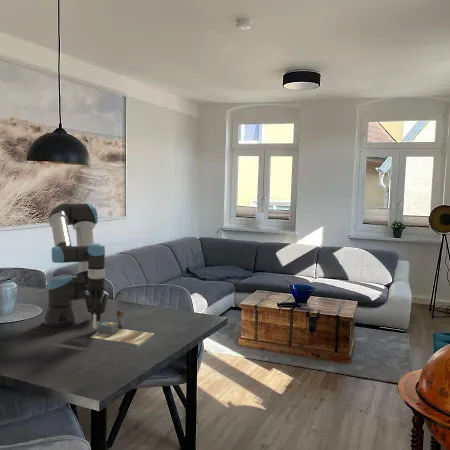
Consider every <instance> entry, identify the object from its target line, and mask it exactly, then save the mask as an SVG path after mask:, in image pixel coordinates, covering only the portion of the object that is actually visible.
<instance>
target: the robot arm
mask: <svg viewBox="0 0 450 450" xmlns="http://www.w3.org/2000/svg"><path fill="white" fill-rule="evenodd" d="M98 222H99V221H98V211H97V208H96V206H95V205H94V204H93V203H87V202H84V203H75V202H74V203H72V202H71V203H69V202H67V203H65V202H64V203H60V204H58V205H57V206H55V207H54V208H53V209H52V210H51V211H50V213H49V215H48V224H49V226H50V227H51V231H52V236H53V241H54V243H53V244H54V246H53V247H52V248H51V262H52V263H54V264H57V263H59V264H67V263H78V272H76V276H75V277H74V276H73V274H69V273H68V274H60V275H59V274H58V275H55V276H52V277H51V278H49V279H48V282H47V309H46V313H45V315H44V319H43V321H44V322H43V323H44V324H43V325H45V326H47V327H51V328H52V327H53V328H55V327H58V328H60V327H61V328H62V327H66V326H71V325H74V324H76V323H77V314H76V312H75V309H74V306H73V304H74V302H76V301H85V304H86V309H87V312H88V313H90V314H91V321H92V329H99V324H100V321H101V320H102V319H101V316H102V315H101V314H103V313H105V311H106V306H107V302H108V299H109V298H108V297H109V296H110V292H107V291H106V289H105V284H106V282H105V281H106V279H105V275H106V273H105V271H106V268H105V265H106V262H105V261H106V247H105V245H104V244H103V243H95V241H94V232H93V231H94V230H93V229H94V228H95V227H96V225H98ZM68 225H69V226H72V229H73V230H74V231H75V237H76V245H75V246H74V245H72V240H71V237H70V235H71V234H70V232H69V228H68Z"/></svg>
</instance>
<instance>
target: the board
mask: <svg viewBox="0 0 450 450" xmlns="http://www.w3.org/2000/svg"><path fill="white" fill-rule="evenodd" d="M154 337H155V333H154V332H147V331H140V330H133V329H132V330H131V329H127V328H118V332H116V333H115V334H113V335H108V334H101V333H99V331H98V332H97V333H95V334H93V335H91V336H90V337H89V338H91V339H97V340H98V339H99V340H106V341H112V342H118V343H125V344H130V345H131V344H133V345H135V346H134V347H135V348H139V347H140V346H142V345H143V344H144V343H146V342H148V341H149V340H151V339H152V338H154Z"/></svg>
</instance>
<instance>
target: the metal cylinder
mask: <svg viewBox="0 0 450 450" xmlns="http://www.w3.org/2000/svg"><path fill="white" fill-rule="evenodd" d="M116 323H118V328H119V329H125V328H124V327H125V310H124V309H121V310H120V309H119V310H117V311H116Z"/></svg>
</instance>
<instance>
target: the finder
mask: <svg viewBox="0 0 450 450" xmlns="http://www.w3.org/2000/svg"><path fill="white" fill-rule="evenodd" d="M98 332H99V333H101V334H108V335H113V334H115V333H116V332H118V323H117V322H110V321H103V322H101V323H99V327H98Z"/></svg>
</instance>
